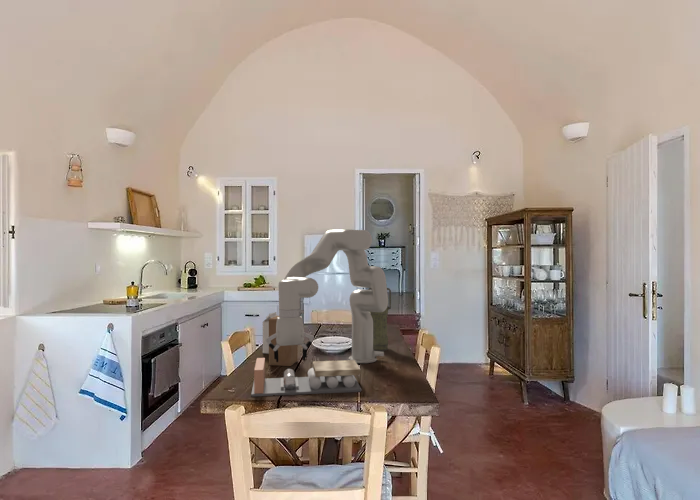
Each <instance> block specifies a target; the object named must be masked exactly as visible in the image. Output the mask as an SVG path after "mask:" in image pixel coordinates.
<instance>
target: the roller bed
mask: <svg viewBox="0 0 700 500" xmlns="http://www.w3.org/2000/svg"><path fill="white" fill-rule="evenodd" d="M253 374H254V375H253V376H254V377H253V378H254V379H253V384H252V388H251V389H252V390H251V394H250V397H251V396H252V397H268V396H269V397H273V395H275V396H291V395H292V396H295V395H314V394H316V395H317V394H318V395H319V394H336V393H337V394H339V393H341V394H342V393H359V392H360V393H361V391H363V389H362V388H361V385H360V384H359V382H358V380H357V378H356V377H355V375H347V376H322V377H315V373H314V369H313V367H311V368H309V369H308V371H307V376H295V384H296V385H295V388H294V389H293V390H287V389H285V387H284V377H271V378H268V377H267V378H266V358H265V357H257V358H256V361H255V365H254V371H253Z"/></svg>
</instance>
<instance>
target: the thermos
mask: <svg viewBox="0 0 700 500" xmlns="http://www.w3.org/2000/svg"><path fill="white" fill-rule="evenodd" d="M386 285H387V283H386ZM387 286H388V285H387ZM367 290H372V288H367ZM387 291H388V293H389V295H388V297H389V298H388V306H387V308H386V310H385V311H383V312H370V314H371V316H372V319H373V350H374V351H380V352H385V351H388V349H389V348H388V347H389V346H388V344H389V337H388V313H389V310H391V308H392V291H391V288H390V287H387Z"/></svg>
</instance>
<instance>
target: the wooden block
mask: <svg viewBox="0 0 700 500" xmlns="http://www.w3.org/2000/svg"><path fill="white" fill-rule="evenodd" d="M277 317H279V315H278V316H275V317H273V318H270V319H269V337H270V336H272V335H273V334H275V333H276V323H277ZM271 343H272V344H273V345H276V338H274V339H272V340H271ZM298 346H299V345H287V346H280V347H279V348H278V362H276V359H274V351H273V349H272V348H270V347H269V354H268V366H277V367H278V366H280V367H291V366H293V365H294V364H295V363H297V362H298V352H299V351H298V350H299V349H298V348H299V347H298Z"/></svg>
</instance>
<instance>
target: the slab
mask: <svg viewBox="0 0 700 500" xmlns="http://www.w3.org/2000/svg"><path fill="white" fill-rule="evenodd" d="M312 368H313V369H314V373H315V377H322V376H347V375H354V376H361V368H360V366H359V365H358V363H356V362H355V360H348V359H347V360H345V359H344V360H321V361H320V360H319V361H318V360H316V361H312Z"/></svg>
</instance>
